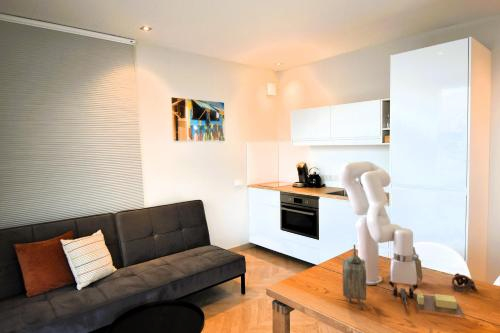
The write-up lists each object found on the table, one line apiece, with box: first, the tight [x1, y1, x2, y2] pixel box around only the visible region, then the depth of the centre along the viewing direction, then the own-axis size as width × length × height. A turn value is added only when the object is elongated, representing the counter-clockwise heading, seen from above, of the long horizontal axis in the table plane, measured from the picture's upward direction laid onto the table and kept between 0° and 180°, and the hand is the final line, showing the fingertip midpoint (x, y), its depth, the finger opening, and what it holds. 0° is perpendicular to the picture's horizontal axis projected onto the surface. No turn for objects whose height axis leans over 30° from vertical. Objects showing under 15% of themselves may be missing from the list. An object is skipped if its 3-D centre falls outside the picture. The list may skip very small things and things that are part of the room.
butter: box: [433, 293, 458, 309], centre depth 125 cm, size 7×5×3 cm
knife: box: [399, 287, 409, 313], centre depth 129 cm, size 2×18×3 cm, turn 160°
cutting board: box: [413, 293, 465, 317], centre depth 126 cm, size 16×14×1 cm
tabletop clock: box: [342, 244, 367, 310], centre depth 131 cm, size 14×9×25 cm, turn 163°
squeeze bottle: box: [413, 246, 424, 282], centre depth 147 cm, size 8×8×18 cm
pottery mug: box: [451, 272, 478, 293], centre depth 139 cm, size 12×10×8 cm
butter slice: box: [416, 291, 424, 305], centre depth 128 cm, size 2×5×3 cm, turn 160°
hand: (403, 297), depth 134 cm, fingers open, 5 cm apart
